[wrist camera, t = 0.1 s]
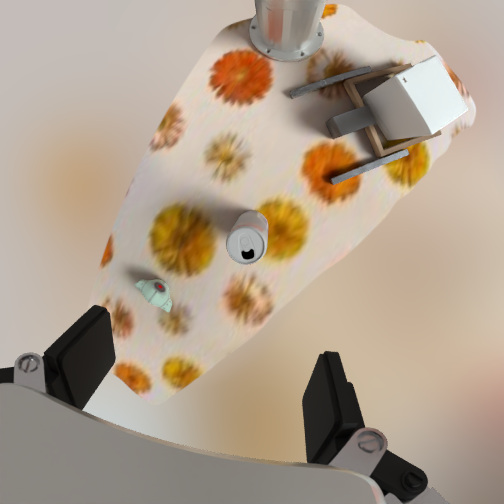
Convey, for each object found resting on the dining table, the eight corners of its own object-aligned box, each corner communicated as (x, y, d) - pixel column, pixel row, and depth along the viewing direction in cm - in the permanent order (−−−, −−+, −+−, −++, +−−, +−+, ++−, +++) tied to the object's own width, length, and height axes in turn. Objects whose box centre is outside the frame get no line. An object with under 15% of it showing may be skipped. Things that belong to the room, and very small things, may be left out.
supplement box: (387, 142, 41) (431, 137, 27) (358, 98, 39) (392, 74, 25) (421, 120, 39) (470, 110, 25) (394, 78, 37) (436, 53, 23)
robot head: (143, 277, 52) (127, 292, 45) (153, 262, 51) (138, 276, 44) (174, 303, 53) (163, 320, 47) (185, 289, 52) (175, 306, 45)
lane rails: (289, 93, 40) (290, 91, 39) (366, 68, 37) (369, 66, 36) (331, 184, 44) (333, 184, 43) (405, 154, 41) (409, 154, 40)
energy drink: (240, 244, 48) (230, 269, 37) (233, 213, 47) (220, 230, 35) (271, 238, 48) (270, 262, 36) (264, 207, 46) (262, 222, 35)
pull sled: (311, 94, 40) (316, 84, 34) (404, 67, 36) (419, 57, 30) (345, 168, 43) (356, 169, 37) (434, 135, 39) (452, 133, 34)
